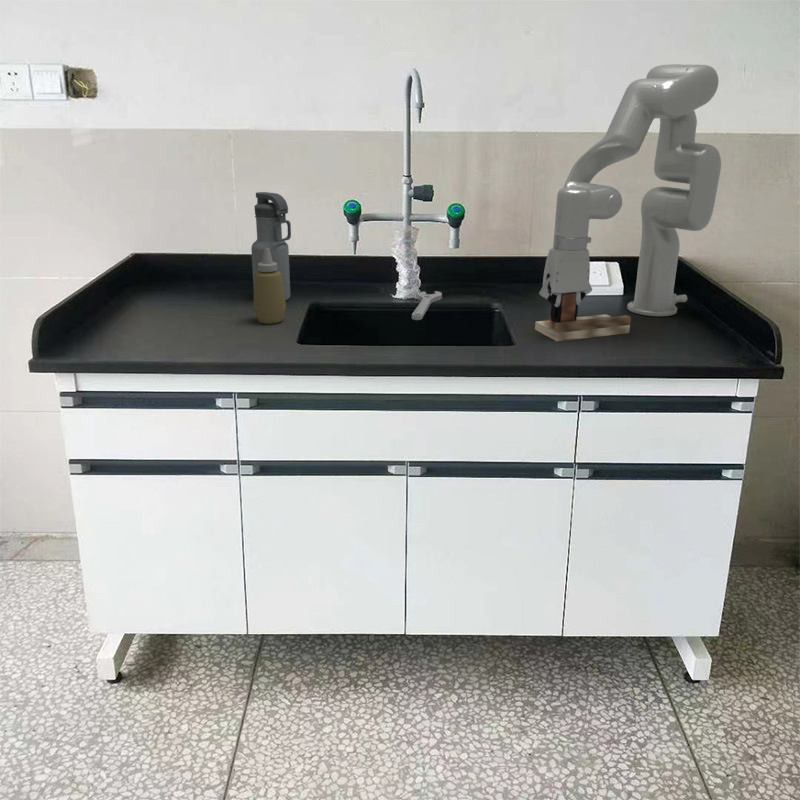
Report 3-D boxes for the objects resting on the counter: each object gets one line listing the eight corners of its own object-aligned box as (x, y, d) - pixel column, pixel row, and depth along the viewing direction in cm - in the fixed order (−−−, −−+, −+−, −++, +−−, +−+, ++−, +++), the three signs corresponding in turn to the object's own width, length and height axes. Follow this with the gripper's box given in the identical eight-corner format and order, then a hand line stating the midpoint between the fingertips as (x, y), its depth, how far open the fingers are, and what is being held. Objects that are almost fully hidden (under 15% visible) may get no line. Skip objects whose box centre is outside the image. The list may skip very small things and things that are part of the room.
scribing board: (604, 321, 205) (606, 306, 203) (629, 333, 196) (630, 316, 195) (535, 329, 198) (536, 313, 197) (556, 341, 189) (558, 324, 188)
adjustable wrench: (421, 322, 205) (421, 315, 204) (396, 320, 207) (396, 313, 206) (443, 297, 227) (443, 291, 227) (421, 295, 229) (421, 289, 228)
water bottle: (299, 297, 224) (295, 193, 213) (275, 305, 216) (270, 197, 206) (270, 292, 229) (265, 190, 218) (246, 299, 221) (240, 194, 211)
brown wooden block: (559, 319, 198) (562, 287, 195) (573, 326, 193) (576, 293, 190) (546, 321, 197) (549, 288, 194) (560, 328, 191) (563, 294, 189)
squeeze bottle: (293, 319, 204) (290, 247, 198) (275, 327, 198) (271, 253, 191) (265, 315, 208) (262, 244, 201) (247, 323, 201) (242, 249, 194)
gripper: (591, 238, 193) (584, 313, 199) (529, 242, 187) (524, 320, 194) (610, 244, 186) (602, 322, 193) (546, 248, 180) (540, 328, 187)
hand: (563, 320), depth 193 cm, fingers closed on brown wooden block, 3 cm apart
